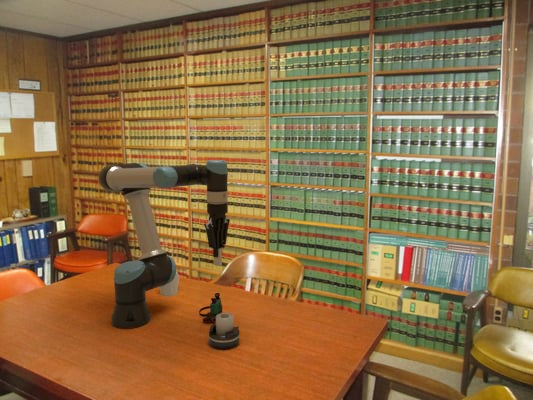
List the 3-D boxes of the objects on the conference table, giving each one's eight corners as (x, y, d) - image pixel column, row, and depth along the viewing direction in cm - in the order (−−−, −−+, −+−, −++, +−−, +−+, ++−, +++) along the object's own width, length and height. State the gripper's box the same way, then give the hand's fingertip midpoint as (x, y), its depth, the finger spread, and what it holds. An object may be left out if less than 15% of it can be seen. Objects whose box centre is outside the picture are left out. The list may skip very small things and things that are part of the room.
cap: (212, 333, 151) (212, 317, 150) (222, 326, 157) (222, 310, 156) (227, 337, 148) (227, 321, 147) (237, 330, 154) (237, 314, 153)
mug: (171, 297, 197) (171, 276, 195) (156, 294, 200) (155, 274, 198) (185, 288, 208) (185, 269, 206) (170, 286, 211) (170, 267, 209)
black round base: (202, 344, 151) (202, 330, 150) (220, 332, 161) (220, 319, 160) (228, 352, 146) (228, 337, 145) (245, 339, 155) (245, 325, 154)
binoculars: (201, 292, 176) (224, 291, 174) (204, 316, 178) (226, 316, 175) (193, 299, 168) (217, 299, 166) (196, 325, 169) (220, 325, 167)
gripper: (214, 205, 147) (215, 271, 150) (235, 201, 158) (236, 262, 162) (197, 203, 151) (198, 267, 154) (219, 199, 162) (220, 259, 165)
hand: (217, 264), depth 158 cm, fingers closed
